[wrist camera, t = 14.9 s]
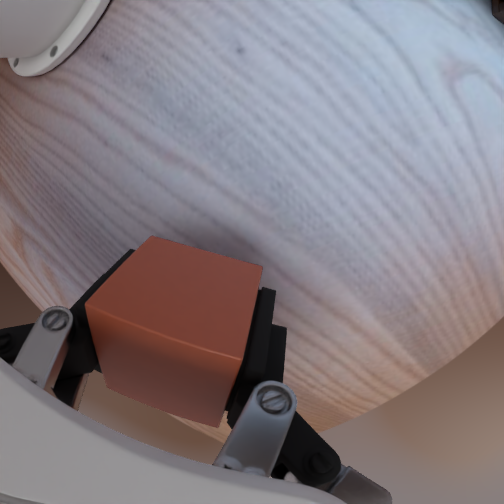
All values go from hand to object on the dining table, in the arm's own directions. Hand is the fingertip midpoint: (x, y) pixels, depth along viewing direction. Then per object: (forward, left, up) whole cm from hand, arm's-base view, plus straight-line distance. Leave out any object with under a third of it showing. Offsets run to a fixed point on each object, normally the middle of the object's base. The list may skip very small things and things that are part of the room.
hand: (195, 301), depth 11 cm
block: (0, 0, 0) cm, 0 cm away
